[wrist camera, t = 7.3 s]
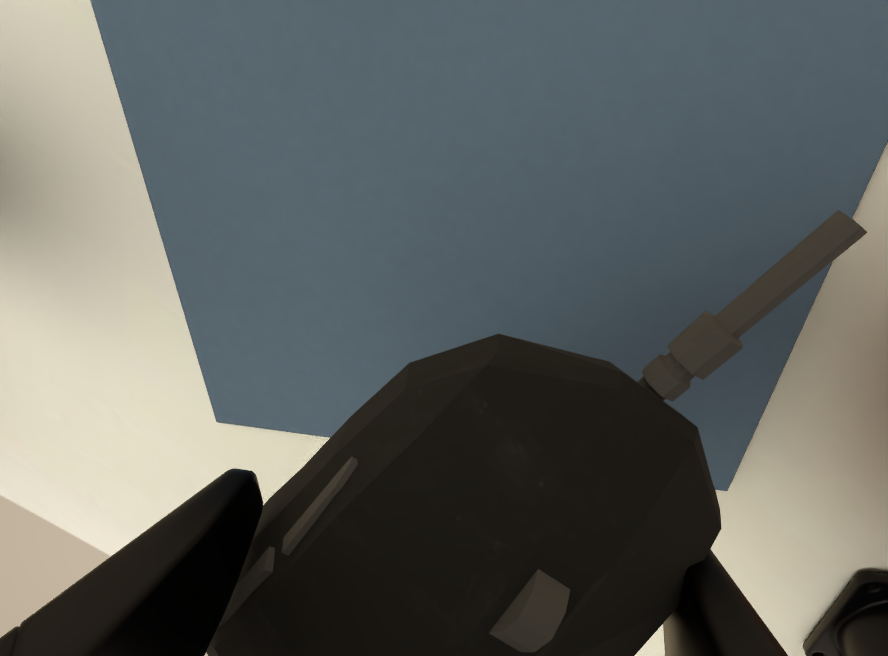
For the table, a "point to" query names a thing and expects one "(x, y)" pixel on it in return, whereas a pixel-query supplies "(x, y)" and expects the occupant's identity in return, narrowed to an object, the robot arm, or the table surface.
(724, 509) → the table surface
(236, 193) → the mouse pad
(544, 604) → the gaming mouse
